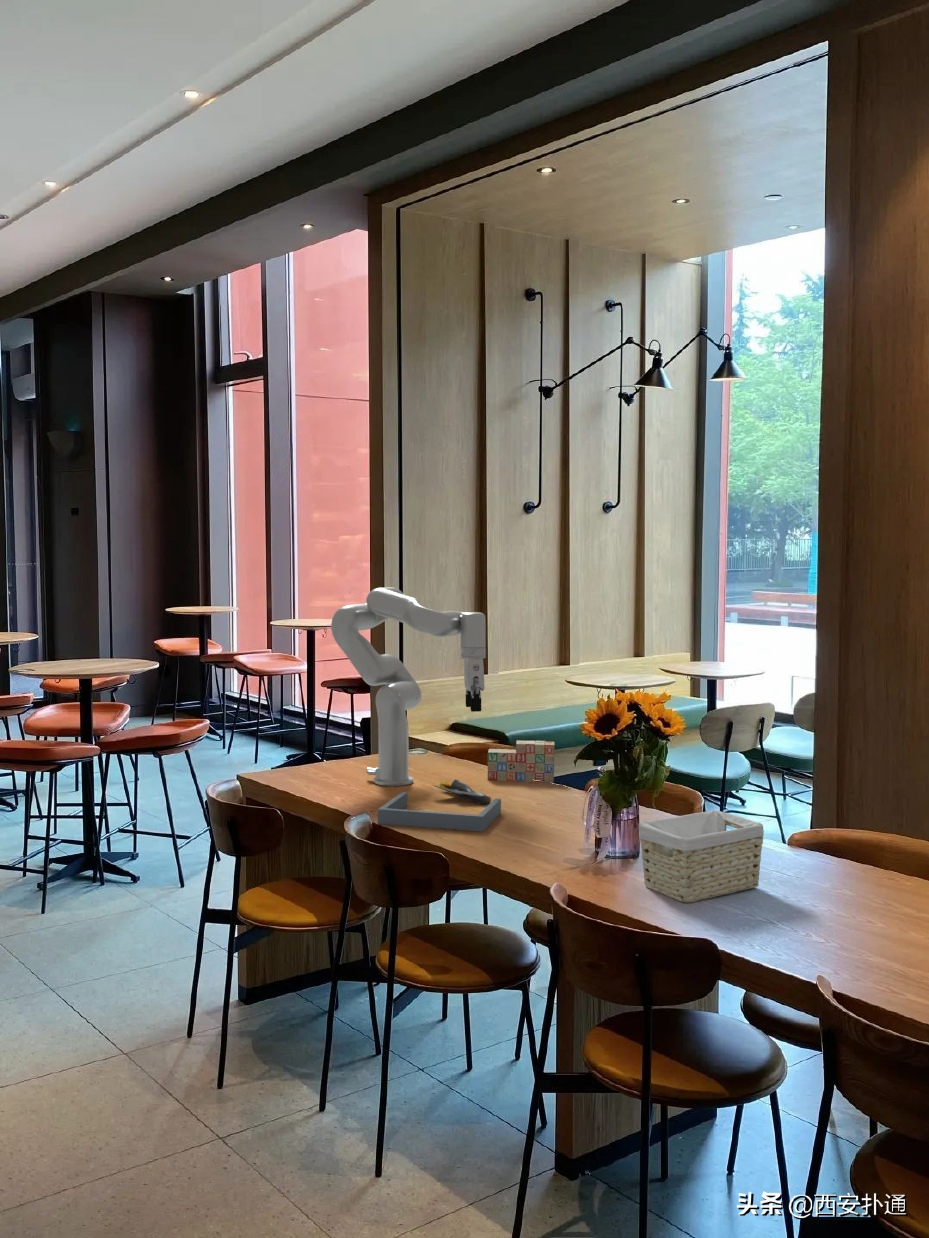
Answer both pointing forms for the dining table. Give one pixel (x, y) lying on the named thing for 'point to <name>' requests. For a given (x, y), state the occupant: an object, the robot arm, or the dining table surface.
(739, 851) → the storage basket
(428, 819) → the u-shaped frame
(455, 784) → the toy plane
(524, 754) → the stack of blocks
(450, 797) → the dining table surface
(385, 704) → the robot arm
